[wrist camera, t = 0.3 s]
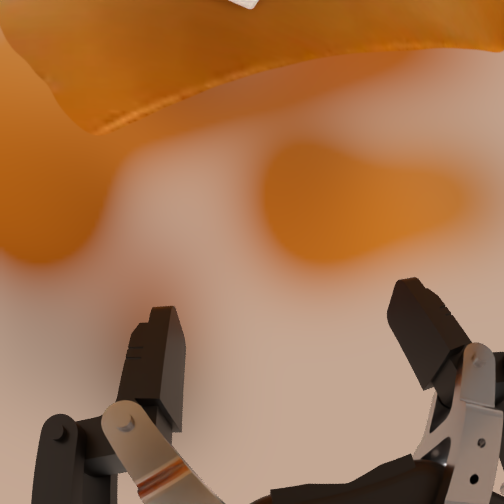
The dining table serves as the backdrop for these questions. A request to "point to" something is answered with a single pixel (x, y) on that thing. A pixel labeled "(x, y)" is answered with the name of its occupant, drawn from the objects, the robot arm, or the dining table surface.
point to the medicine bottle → (246, 3)
